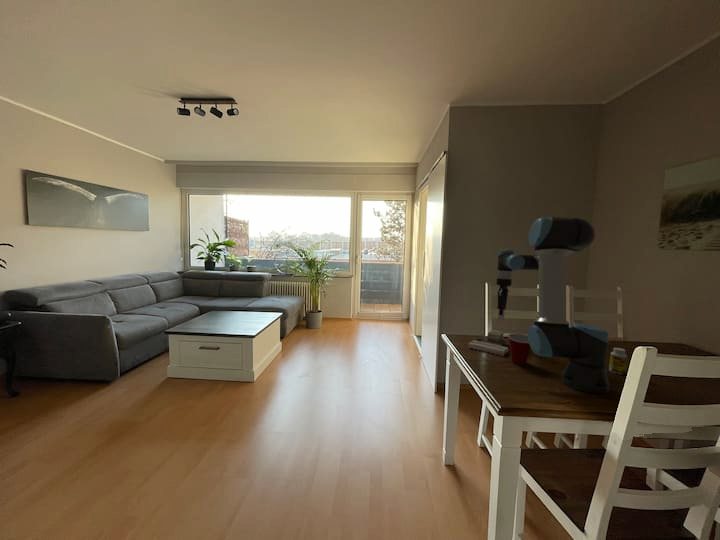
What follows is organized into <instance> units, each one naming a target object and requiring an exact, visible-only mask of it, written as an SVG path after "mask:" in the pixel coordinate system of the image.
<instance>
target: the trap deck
mask: <svg viewBox="0 0 720 540" xmlns="http://www.w3.org/2000/svg"><path fill="white" fill-rule="evenodd" d="M487 339H488V335H483V334H481V335H479V336H478V337H477V338H476V340H472V341H469V343H468V349H470V348H473V349H472V350H475V349H477V350H476V351H479V350H481V351H480V352H483V351H485V352H484V353H488V352H489V353H488V354H492V353H493V355H496V354H497V355H496V356H500V355H501V357H505V356H506V355H507V354H508V353H509V352H511V350H510V341H509V339H503V340H502V341H501V342H500V343H498V342H494V341H489V340H487ZM508 351H509V352H508ZM507 352H508V353H507ZM506 353H507V354H506ZM505 354H506V355H505ZM504 355H505V356H504Z"/></svg>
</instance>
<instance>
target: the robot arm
mask: <svg viewBox="0 0 720 540" xmlns="http://www.w3.org/2000/svg"><path fill="white" fill-rule="evenodd" d="M595 237H596V231H595V228H594V227H593V225H592V224H591V222H589V221H587V220H586V219H583V218H579V217H558V216H557V217H555V216H554V217H552V216H548V217H539V218H537V219H535V220H534V222H533V223H532V224H531V226H530V229H529V232H528V243H529V246H530V247H532V248H534V253H535V254H536V255H534V254H515V251H514V250H513V249H512V250H511V249H500V250H499V251H498V256H497V271H496V272H495V273H496V274H497V275H496V277H497V278H496V282H495V283H496V286H499V288H498V291H497V307H496V308H497V309H498V313H497V315H498V317H497V321H500V322H504V321H505V310H507V303H508V302H507V301H508V296H509V295H508V294H509V288H508V287H511V286H512V284H513V283H512V278H513V271H518V270H521V271H522V270H525V271H526V270H527V271H538V316H537V318H535V319H534V320H533V322H534V323H533V324H532V325H530V326H529V327H528V329H527V335H528V341H529V344H530V347H531V349H530V350H532V352H533V354H535V355H536V356H538V357H539V356H540V357H543V358H544V357H545V358H559V359H561V358H562V359H568V361H567V364H566V366H565V368H564V369H563V371H562V373H561V382H562V383H563V384H564V385H566V386H568V387H569V388H571V389H575V390H578V391H580V392H583V393H584V392H585V393H591V394H595V393H596V394H598V393H605V394H608V393H609V392H610V382H609V378H608V375H607V371H606V366H607V365H606V364H607V358H608V348H609V347H608V346H609V343H610V341H609V333H608V331H606V330H605V329H602V328H600V327H597V326H595V325H594V326H593V325H589V324H585V323H579V322H573V323H572V324H571V325H570V322H569V321H568V320H566V319H565V258H566V257H567V256H569V255H571V254H573V253H574V252H577V253H578V252H581V251H583V250H586V249H587V248H589V247H590V245H592V243H593V242H594V240H595V239H596V238H595ZM607 392H608V393H607Z"/></svg>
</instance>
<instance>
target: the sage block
mask: <svg viewBox="0 0 720 540" xmlns="http://www.w3.org/2000/svg"><path fill="white" fill-rule="evenodd" d="M487 336H488V339H487V340H489V341H494V342H498V343H500V342H501V341H502V340H504V332H503V331H499V330H493V329H492V330H490V331H488V332H487Z"/></svg>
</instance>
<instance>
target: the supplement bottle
mask: <svg viewBox="0 0 720 540" xmlns="http://www.w3.org/2000/svg"><path fill="white" fill-rule="evenodd" d="M627 362H628V355H627V354H626V349H624V348H620V347H613V351H611V352H610V357H609V365H608V370H609V371H610V372H611V373H612V374H613V373H614V374H616V373H617V375H624V374H623V373H625V374H626V370H627Z"/></svg>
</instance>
